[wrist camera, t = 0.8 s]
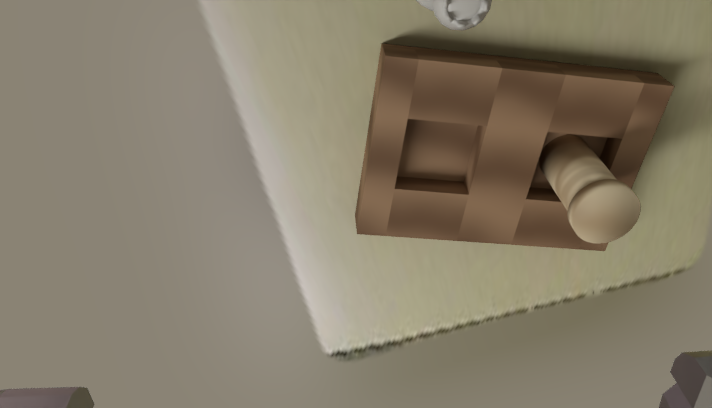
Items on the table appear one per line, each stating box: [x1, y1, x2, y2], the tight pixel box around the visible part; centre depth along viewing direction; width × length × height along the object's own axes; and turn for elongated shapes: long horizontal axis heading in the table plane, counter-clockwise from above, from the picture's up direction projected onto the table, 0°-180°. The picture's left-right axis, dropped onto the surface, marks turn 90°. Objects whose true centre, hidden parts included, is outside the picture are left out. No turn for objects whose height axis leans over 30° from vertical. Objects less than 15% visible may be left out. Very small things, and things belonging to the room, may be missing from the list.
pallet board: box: [355, 43, 675, 251], centre depth 43 cm, size 14×20×9 cm
